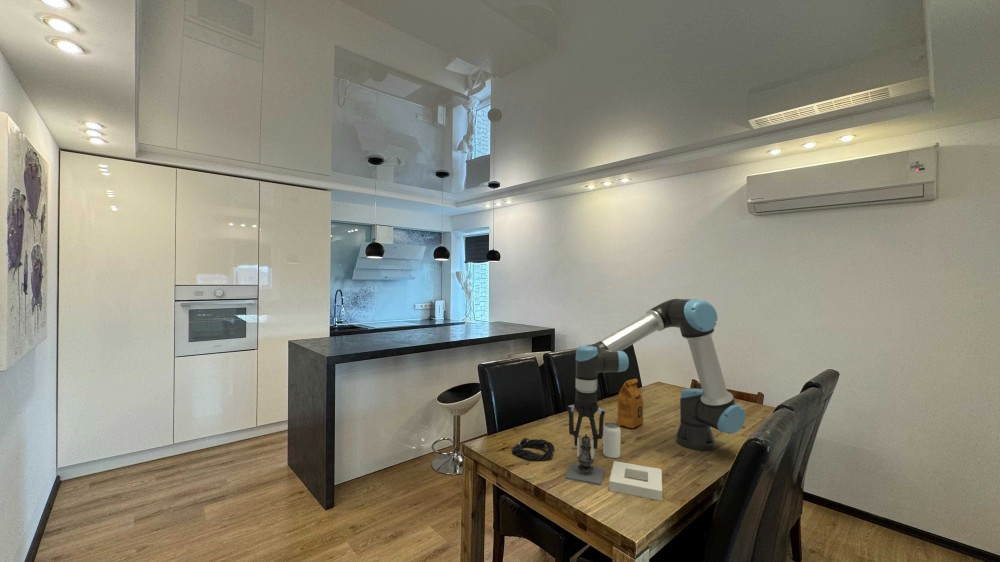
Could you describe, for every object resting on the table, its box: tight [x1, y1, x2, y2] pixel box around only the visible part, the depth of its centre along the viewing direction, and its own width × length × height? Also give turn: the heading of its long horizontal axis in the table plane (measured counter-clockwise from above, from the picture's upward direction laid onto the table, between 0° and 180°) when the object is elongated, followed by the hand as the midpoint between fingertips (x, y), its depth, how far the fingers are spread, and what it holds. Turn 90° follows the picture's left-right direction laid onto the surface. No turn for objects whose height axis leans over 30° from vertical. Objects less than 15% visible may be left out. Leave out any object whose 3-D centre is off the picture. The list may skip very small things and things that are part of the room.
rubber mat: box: [564, 462, 606, 486], centre depth 137 cm, size 12×12×1 cm
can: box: [602, 421, 621, 459], centre depth 153 cm, size 6×6×12 cm
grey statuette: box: [577, 433, 595, 471], centre depth 137 cm, size 6×6×12 cm
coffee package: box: [617, 378, 644, 429], centre depth 188 cm, size 10×12×22 cm
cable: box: [511, 437, 555, 461], centre depth 154 cm, size 17×14×4 cm
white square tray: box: [608, 460, 663, 502], centre depth 131 cm, size 16×16×3 cm
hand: (585, 456), depth 137 cm, fingers closed on grey statuette, 4 cm apart
